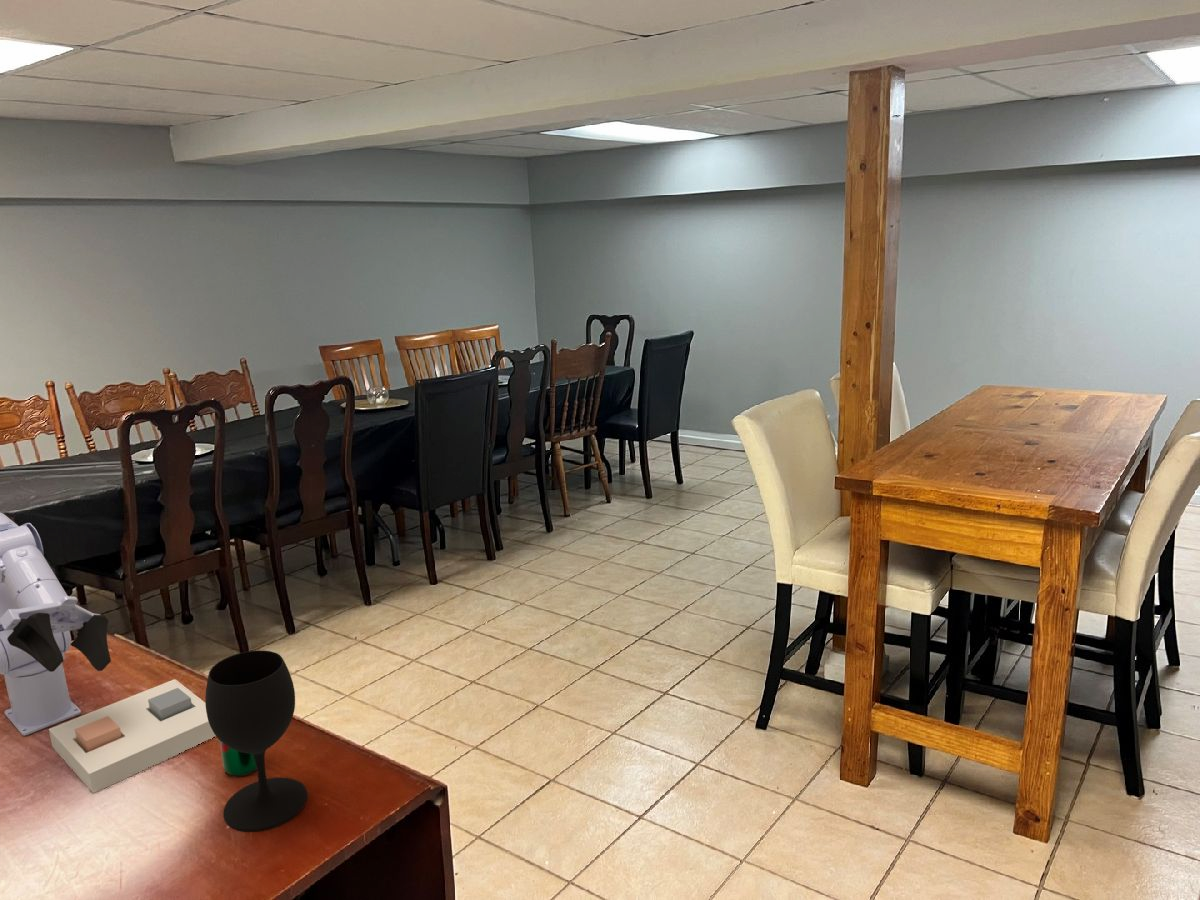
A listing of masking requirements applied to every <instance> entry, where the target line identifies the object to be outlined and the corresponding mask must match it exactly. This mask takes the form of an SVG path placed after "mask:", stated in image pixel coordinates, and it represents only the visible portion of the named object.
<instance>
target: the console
mask: <svg viewBox="0 0 1200 900" xmlns="http://www.w3.org/2000/svg"><path fill="white" fill-rule="evenodd" d="M176 688H179V689H180V690H181V691H183V692H184V693H185V694H186V695H188V696H189V697H190V698H191V704H192V708H191V709H189V710H186V711H184V712H182V713H179V714H177V715H175V716H172V717H170V718H167V719H165V720H163V721H160V720H159V719H158V718H157V717H156V716H155V715H153V714H152V713H151V712H150V708H149V702H148V700H149V699H151V698H154V697H156V696H159V695H161V694H164V693H166V692H169V691H171V690H173V689H176ZM107 716H109V717H110V718H111V719H112V720H113V721H114V722H115V723H116V724H117V725H118V726H119V727H120V731H121V736H122V738H120V739H118V740H116V741H113V742H111V743H109V744H106V745H104V746H102V747H99V748H97V749H95V750H92V751H90V752H86V751H85V750H84V748H83V747H82V746H81V745H80V744H79V743H78V742H77V738H76V734H75V729H77V728H79V727H82V726H84V725H87V724H89V723H92V722H94V721H97V720H99V719H102V718H104V717H107ZM48 732H49V733H48V734H49V737H50V741H51V747H52V749H54V751H55V752H56V753H57V754H58V755H59V756H60V757H61V759H62V760H63V759H64V760H65V761H64V762H65V763H66V764H67V765H68V766H69V767H71V768H70V769H71V770H72V769H73V770H72V771H73V772H74V773H75V775H76V776H77V777H78V778H79V779H80V780H81V781H82V782H83V784H84V785H85V786H86V787H87V788H88V790H89V791H90V792H91V793H92V794H94V793H98V792H99V791H101V790H103V789H106V788H107V787H110V786H113V785H115V784H117V783H119V782H121V781H123V780H125V779H127V778H130V777H132V776H134V775H136V774H139V773H140V772H142V770H143V771H145V770H148V769H149V768H148V767H150V768H152V767H154V766H156V765H158V764H160V763H163V762H165V761H167V760H169V759H171V758H173V756H174V757H176V756H178V755H180V754H182V753H185V752H186V751H185V750H187V749H189V748H191V749H193V748H195V747H197V746H196V745H198V744H200V745H201V743H202V742H204V741H206V740H208V739H211V738H213V737H214V736H216V735H215V734H214V732H213V730H212V729H211V727H210V724H209V721H208V718H207V713H206V704H205V701H204V700H202V699H201V698H200V697H199V696H197V694H195V693H194V692H192V691H191V690H190V689H188V688H187V687H186V686H184V684H182V683H181V682H179V680H177V679H176V678H174V679H172V680H170V681H167V682H164V683H161V684H159V685H156V686H154V687H151V688H149V689H146V690H143V691H141V692H138V693H137V694H134V695H132V696H129V697H128V696H127V697H126V698H124V699H121V700H118V701H116V702H114V703H111V704H109V705H106V706H103V707H101V708H98V709H96V710H93V711H91V712H88V713H86V714H83V715H81V716H78V717H75V718H73V719H71V720H68V721H65V722H63V723H60V724H57V725H55V726H51V728H49V729H48ZM213 739H214V738H213ZM211 740H212V739H211ZM206 742H207V741H206ZM204 743H205V742H204ZM202 744H203V743H202ZM194 746H195V747H194ZM198 746H199V745H198ZM192 747H193V748H192ZM189 750H190V749H189ZM184 751H185V752H184ZM187 751H188V750H187ZM181 752H182V753H181ZM179 753H180V754H179ZM168 758H169V759H168ZM162 761H163V762H162ZM153 765H154V766H153ZM138 772H139V773H138Z"/></svg>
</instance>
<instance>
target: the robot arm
mask: <svg viewBox="0 0 1200 900" xmlns="http://www.w3.org/2000/svg"><path fill="white" fill-rule="evenodd" d="M78 600H79V599H78V598H77V596H70V595H68V594H67V592H66V591H65V589H64V587H63V586H62V584H61V583H60V581H59V579H58V578H57V576H56V574H55V573H54V571H53V569H52V567H51V566H50V565H49V563H48V561H47V559H46V558H45V556H44V546H43V542H42V539H41V537H40V534H39V533H38V530H37V529H36V528H35V526H33V525H32V523H30V522H26V523H24V524H22V525H20V526H19V524H18V523H16V522H14V521H13V520H12V519H10V518H9V516H7V515H6V514H4V513H2V512H0V675H2V676H4V682H5V686H6V690H7V695H8V699H9V702H10V703H9V704H10V708H8V709H5V711H4V712H3V713H4V715H5V716H6V718H7V719H8V720H9V721H10V722H11V723H12V724H13V725H14V727H15V729H16V730H17V731H18V732H19V733H20V734H21V735H22V736H28V735H30V734H33V733H35V732H38V731H41V730H43V729H47V728H48V727H52V726H53V725H56V724H59V723H61V722H63V721H66V720H68V719H71V718H74V717H76V716H79V715H81V713H82V710H81V709H80V708H79V707H78V706H77V705H76V704H75V702H73V701H72V700H71V698H70V693H69V689H68V684H67V680H66V674H65V671H64V665H63V662H64V660H65V659H66V654H65V653H68V651H69V650H70V648H71V646H72V647H74V648H75V649H77V650H78V651H79V652H80V653H82V654H83V655H84V656H85V658H86V659H87V660H88V661H89V664H91V666H92V667H93V668H94V669H95V670H96V671H97V672H102V671H104V669H105V668H107V666H108V665H109V664H110V663H111V662H112V659H111V656H110V650H109V646H108V636H107V635H108V634H107V633H108V625H109V619H108V618H107V616H106V615H104V614H100V613H99V614H98V613H93V612H91V611H90V610H87V609H85V608H83V607H82V606H80V605H78V604H77V603H79V602H78ZM71 631H77V633H76V637H75V639H73V641H72V636H71Z"/></svg>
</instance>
